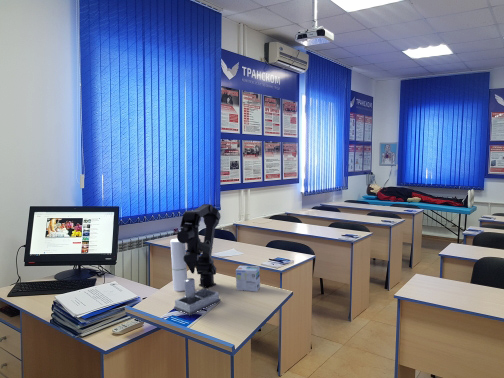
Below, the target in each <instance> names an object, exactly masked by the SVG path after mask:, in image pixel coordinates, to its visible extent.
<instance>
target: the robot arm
mask: <svg viewBox="0 0 504 378" xmlns="http://www.w3.org/2000/svg"><path fill="white" fill-rule="evenodd" d="M221 217H222V216H221V213H220V211H219V209H217V208H215V207H214V206H213V204H211V203H204V204H203V203H202V205H200V206H199V207H197V208H195V209H193V210H185V211H184V212H183V214H182V218H181V222H180V231H178V232H177V234H176V239H178V241H179V242H180V243H185V244H186V254H185V255H184V261H185V262H186V266H187V268H188V269H189V271H190V273H191V275H192V274H193V275H194V274H195V271H196V273H197V275H200V276H199V284H198V286H199V287H202V288H206V289H208V288H211V287H213V286H216V285H217V282H215V280H214V279H215V278H214V275H216V274H217V267H216V265H215V263H214V261H215V260H214V259H213V256H212V252H213V245H214V239H215V230H216V228H217V226H218V225H219V224H220V220H221ZM202 219H203V223H204V225H205V230H204V238H203V242H202V241H201V240H202V239H201V238H200V231H199V230H200V229H199V228H200V225H201V224H200V222H201V220H202Z"/></svg>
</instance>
